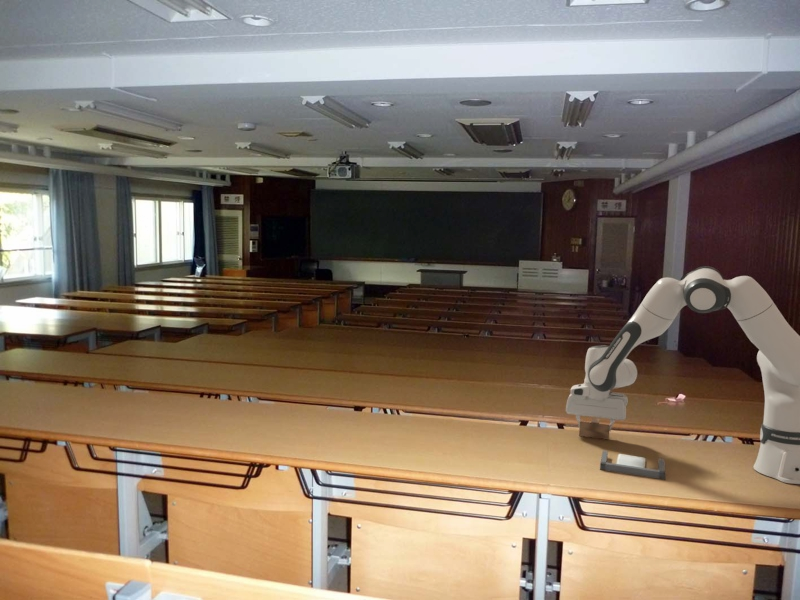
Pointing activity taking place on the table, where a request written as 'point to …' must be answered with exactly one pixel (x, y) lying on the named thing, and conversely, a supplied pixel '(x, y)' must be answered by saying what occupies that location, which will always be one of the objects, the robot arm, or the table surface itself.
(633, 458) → the hard drive
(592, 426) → the pusher
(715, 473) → the table surface
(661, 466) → the bay
